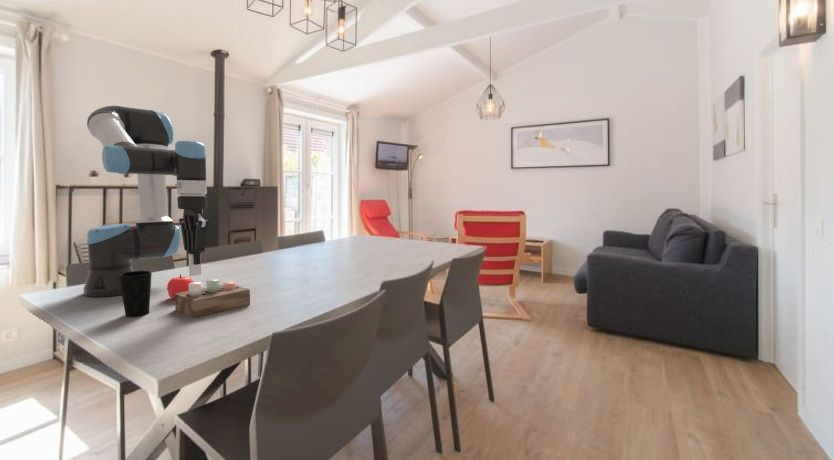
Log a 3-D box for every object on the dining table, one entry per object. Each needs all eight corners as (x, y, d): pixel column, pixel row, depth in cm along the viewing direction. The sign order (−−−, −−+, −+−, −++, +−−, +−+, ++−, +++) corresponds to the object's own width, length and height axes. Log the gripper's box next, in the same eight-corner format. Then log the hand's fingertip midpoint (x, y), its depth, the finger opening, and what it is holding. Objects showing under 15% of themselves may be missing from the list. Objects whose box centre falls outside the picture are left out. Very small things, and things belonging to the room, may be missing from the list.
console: (175, 309, 117) (174, 293, 117) (230, 297, 131) (229, 283, 131) (194, 318, 110) (193, 300, 110) (250, 304, 124) (249, 289, 124)
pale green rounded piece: (204, 293, 120) (204, 280, 119) (216, 290, 123) (215, 278, 122) (210, 295, 118) (210, 282, 117) (222, 292, 121) (221, 280, 120)
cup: (136, 319, 108) (134, 277, 107) (113, 317, 110) (111, 275, 109) (159, 311, 116) (158, 271, 115) (138, 309, 117) (136, 270, 116)
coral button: (221, 295, 124) (221, 283, 124) (232, 293, 127) (231, 281, 127) (227, 297, 122) (227, 285, 122) (238, 295, 125) (238, 282, 125)
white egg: (186, 296, 116) (186, 283, 115) (199, 294, 119) (198, 281, 118) (192, 298, 114) (191, 285, 113) (205, 296, 116) (204, 283, 116)
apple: (161, 300, 127) (160, 276, 126) (179, 294, 134) (178, 271, 134) (184, 301, 126) (183, 277, 125) (200, 295, 133) (199, 272, 133)
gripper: (168, 194, 114) (171, 274, 116) (189, 195, 106) (192, 280, 109) (195, 195, 120) (197, 270, 122) (216, 195, 112) (219, 276, 115)
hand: (195, 274), depth 115 cm, fingers closed
